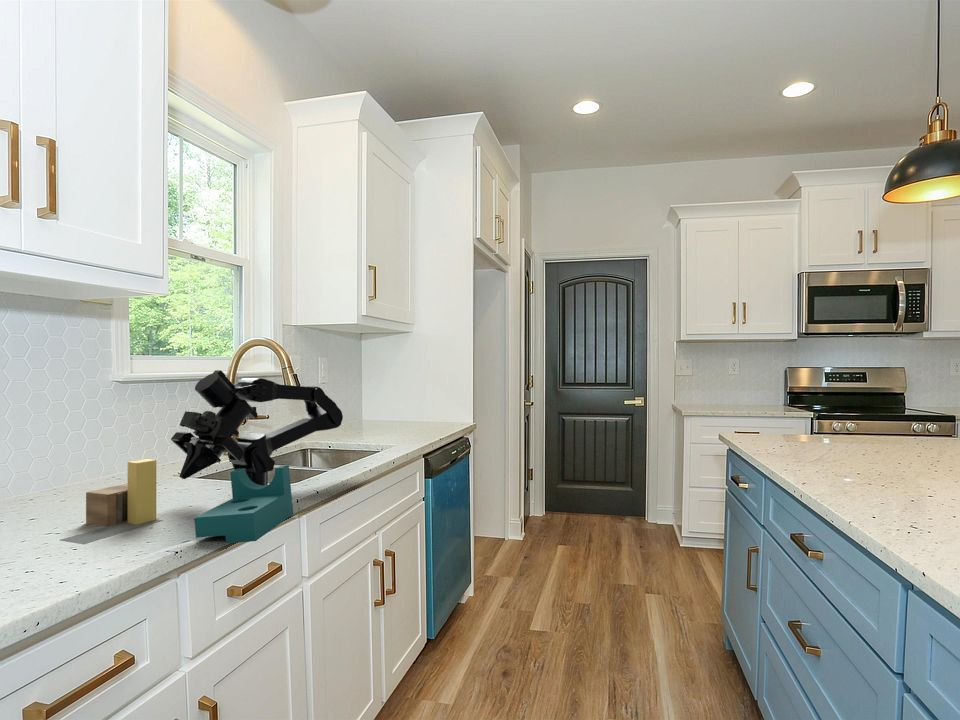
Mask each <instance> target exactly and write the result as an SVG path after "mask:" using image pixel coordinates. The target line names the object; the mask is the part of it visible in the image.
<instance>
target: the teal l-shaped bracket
mask: <svg viewBox="0 0 960 720" xmlns="http://www.w3.org/2000/svg"><path fill="white" fill-rule="evenodd" d="M274 470H275V471H274V475H273V478H272V481H270V483H268V485H258V484H256V483H254V482H252V481H251V480H250V479H249V477H248V476H247V474H246V470H245V468H242V469H237V470H234V469H233V470H232V471H230V483H231V495H232V498H230V499H229V500H226V501H225V502H223V503H221V504H218V505H217V506H215V507H213V508H211V509H208V510H207V511H204V512H202V513H201V514H199V515H196V516H195V517H193V518H194V528H195V529H194V530H195V538H196V539H199V538H209V537H223V536H225V544H226V543H231V544H236V543H237V544H238V543H249V542H250V543H251V542H257V541H258V540H260V539H261V538H262V537H264V536H265V535H266V534H268V533H269V532H270V531H272V530H273V529H275V528H276V527H278V526H279V525H280V524H282V523H283V522H284V521H286V520H287V519H288V518H290V517H292V516H293V515H294V509H293V497H292V487H291V473H290V472H291V471H290V464H282V465H279V466H277V467H275V468H274Z"/></svg>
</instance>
